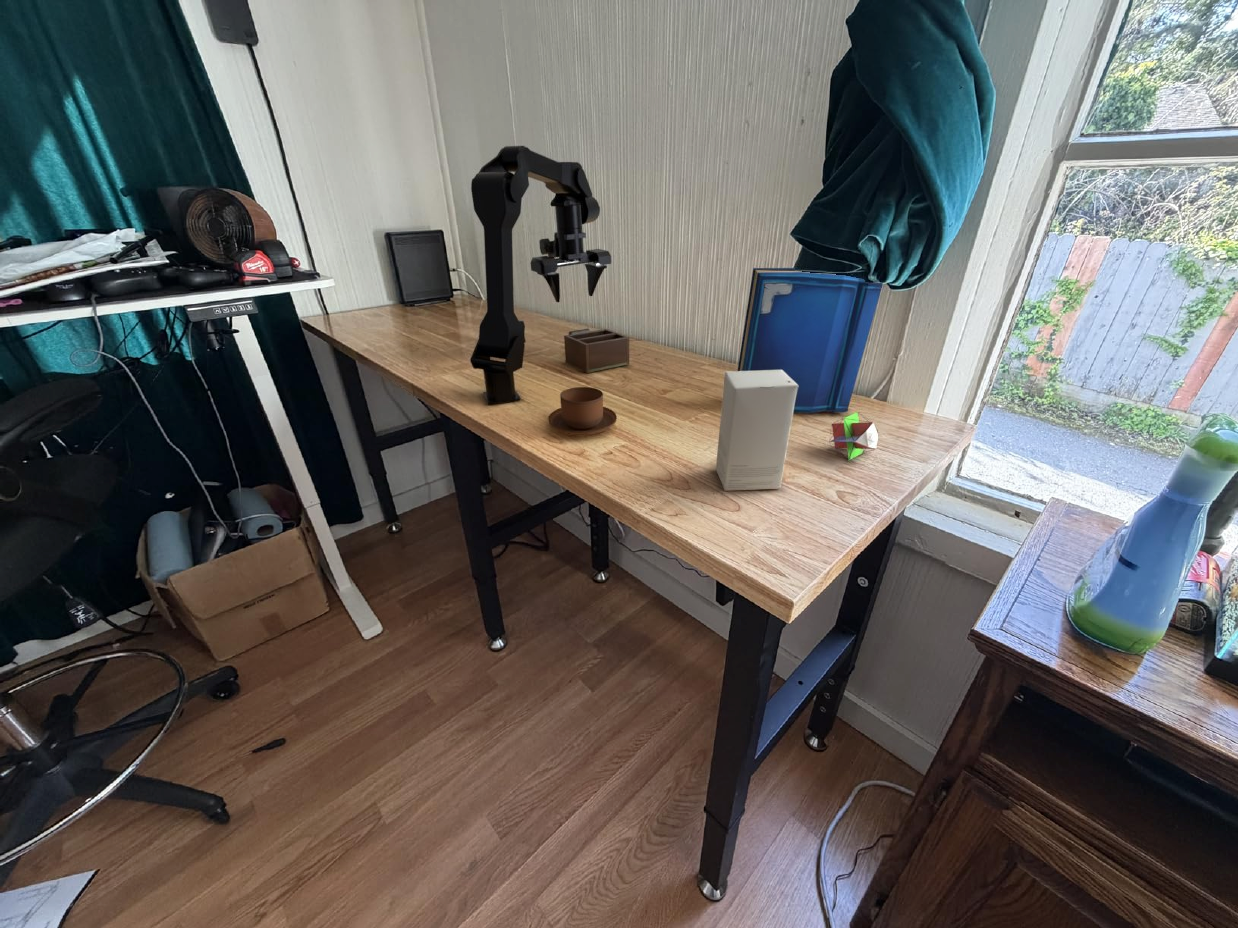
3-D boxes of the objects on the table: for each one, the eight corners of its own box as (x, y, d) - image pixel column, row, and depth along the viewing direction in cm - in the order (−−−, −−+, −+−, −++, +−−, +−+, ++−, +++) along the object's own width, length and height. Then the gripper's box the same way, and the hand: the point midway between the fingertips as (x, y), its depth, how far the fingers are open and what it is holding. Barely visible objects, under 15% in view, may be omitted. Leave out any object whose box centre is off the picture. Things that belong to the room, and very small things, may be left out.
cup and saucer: (535, 425, 88) (533, 392, 85) (589, 408, 95) (588, 378, 92) (575, 448, 80) (573, 413, 77) (630, 428, 87) (631, 395, 84)
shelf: (557, 358, 123) (556, 332, 120) (598, 350, 129) (598, 325, 126) (586, 373, 113) (585, 344, 110) (629, 364, 119) (629, 337, 116)
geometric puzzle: (809, 435, 79) (846, 408, 73) (833, 425, 83) (870, 397, 77) (836, 473, 77) (876, 448, 71) (859, 460, 81) (899, 435, 75)
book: (843, 403, 98) (875, 268, 86) (854, 417, 91) (890, 274, 79) (732, 398, 100) (748, 266, 87) (736, 412, 93) (754, 272, 81)
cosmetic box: (768, 468, 74) (785, 368, 67) (782, 491, 68) (802, 385, 61) (712, 469, 74) (723, 368, 67) (722, 492, 68) (735, 385, 61)
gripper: (586, 221, 121) (589, 287, 129) (516, 228, 112) (524, 299, 120) (611, 225, 113) (613, 295, 121) (538, 233, 104) (546, 308, 112)
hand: (574, 299), depth 119 cm, fingers open, 9 cm apart
